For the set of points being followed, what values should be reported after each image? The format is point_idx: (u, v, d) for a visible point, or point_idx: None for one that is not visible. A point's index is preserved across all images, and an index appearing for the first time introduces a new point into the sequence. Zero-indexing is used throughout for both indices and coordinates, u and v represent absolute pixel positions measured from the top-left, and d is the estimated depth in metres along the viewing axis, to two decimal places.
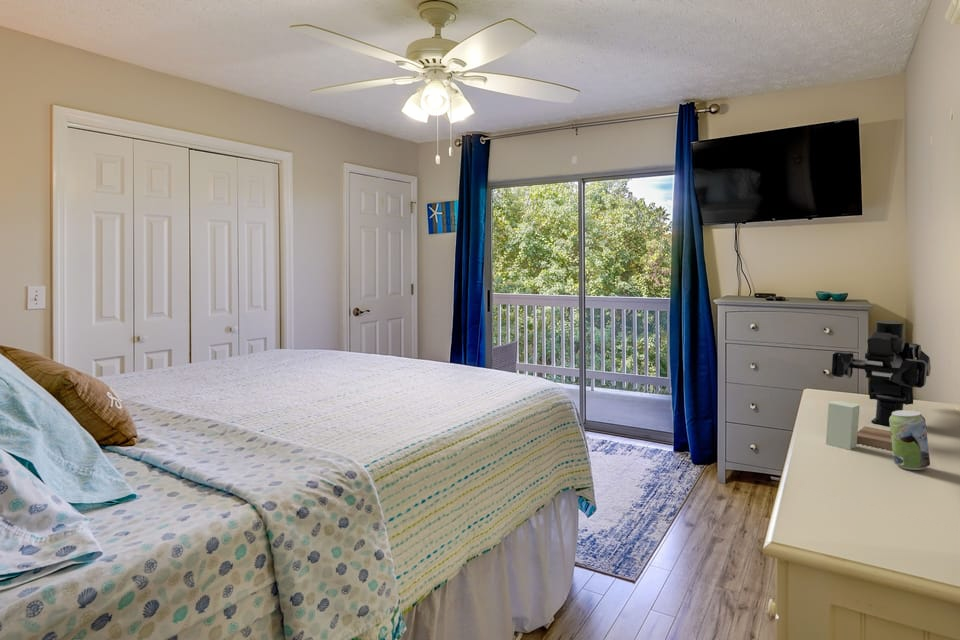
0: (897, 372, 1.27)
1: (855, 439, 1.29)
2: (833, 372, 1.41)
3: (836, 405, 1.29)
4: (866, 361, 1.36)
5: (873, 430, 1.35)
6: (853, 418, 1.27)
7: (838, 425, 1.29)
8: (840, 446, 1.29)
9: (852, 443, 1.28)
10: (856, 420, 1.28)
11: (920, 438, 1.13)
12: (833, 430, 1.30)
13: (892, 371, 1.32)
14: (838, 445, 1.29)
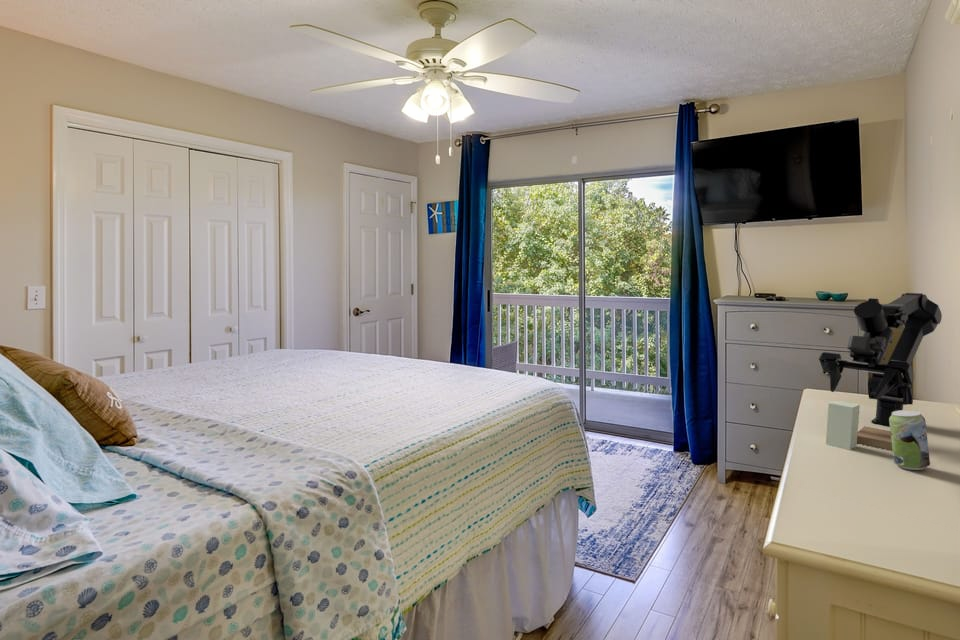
0: (880, 387, 1.28)
1: (855, 439, 1.29)
2: (824, 370, 1.43)
3: (836, 405, 1.29)
4: (852, 362, 1.36)
5: (873, 430, 1.35)
6: (853, 418, 1.27)
7: (838, 425, 1.29)
8: (840, 446, 1.29)
9: (852, 443, 1.28)
10: (856, 420, 1.28)
11: (920, 438, 1.13)
12: (833, 430, 1.30)
13: (879, 371, 1.32)
14: (838, 445, 1.29)
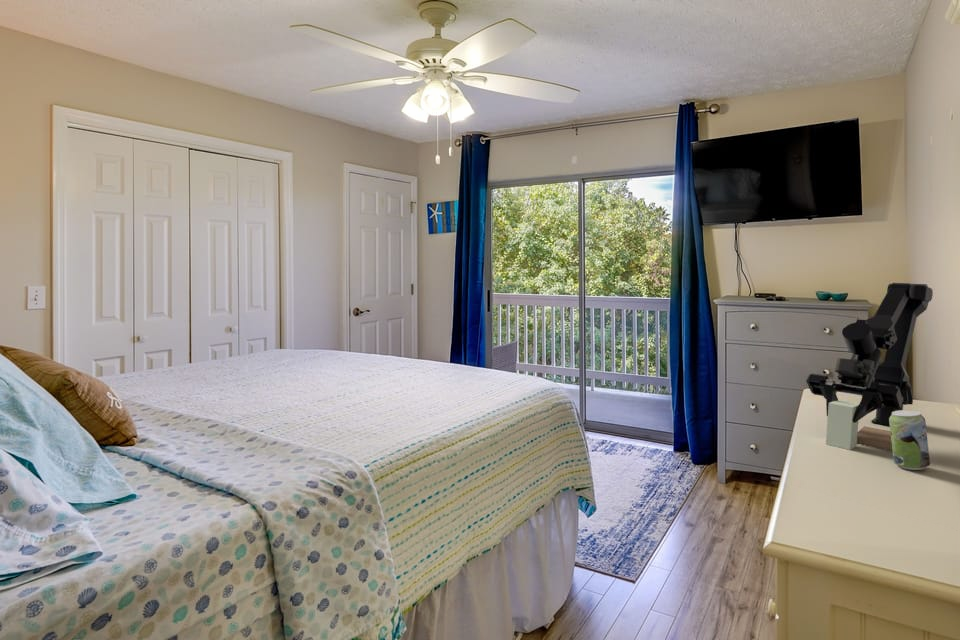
0: (858, 410, 1.27)
1: (855, 439, 1.29)
2: (812, 392, 1.39)
3: (836, 405, 1.29)
4: (840, 384, 1.33)
5: (873, 430, 1.35)
6: None
7: (838, 425, 1.29)
8: (840, 446, 1.29)
9: (852, 443, 1.28)
10: None
11: (920, 438, 1.13)
12: (833, 430, 1.30)
13: None
14: (838, 445, 1.29)
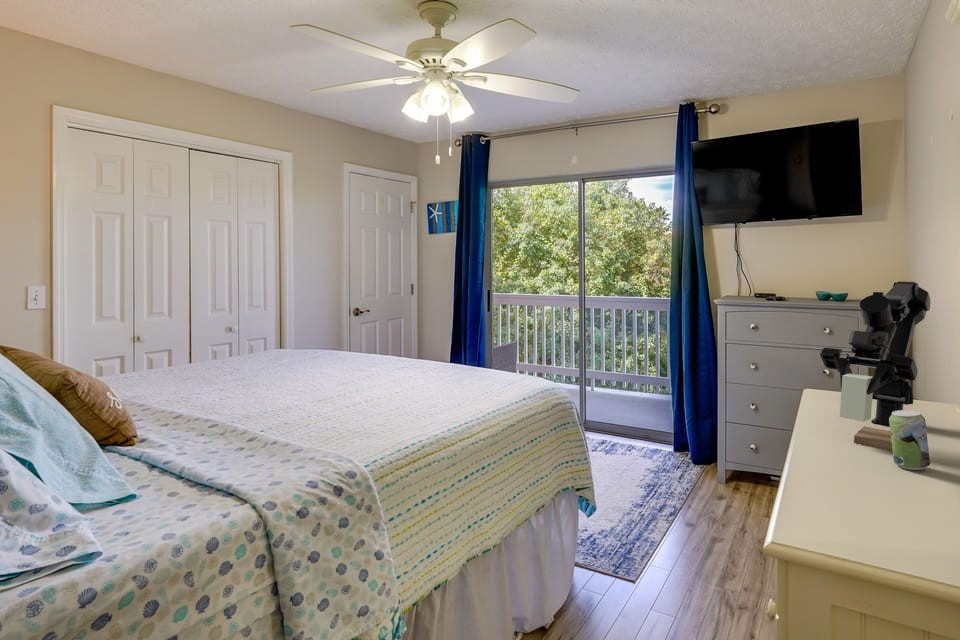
0: (873, 382, 1.26)
1: (869, 411, 1.29)
2: (826, 366, 1.39)
3: (850, 377, 1.29)
4: (854, 357, 1.33)
5: (873, 430, 1.35)
6: None
7: (852, 397, 1.29)
8: (854, 418, 1.29)
9: (866, 415, 1.28)
10: None
11: (920, 438, 1.13)
12: (847, 403, 1.30)
13: None
14: (852, 417, 1.29)
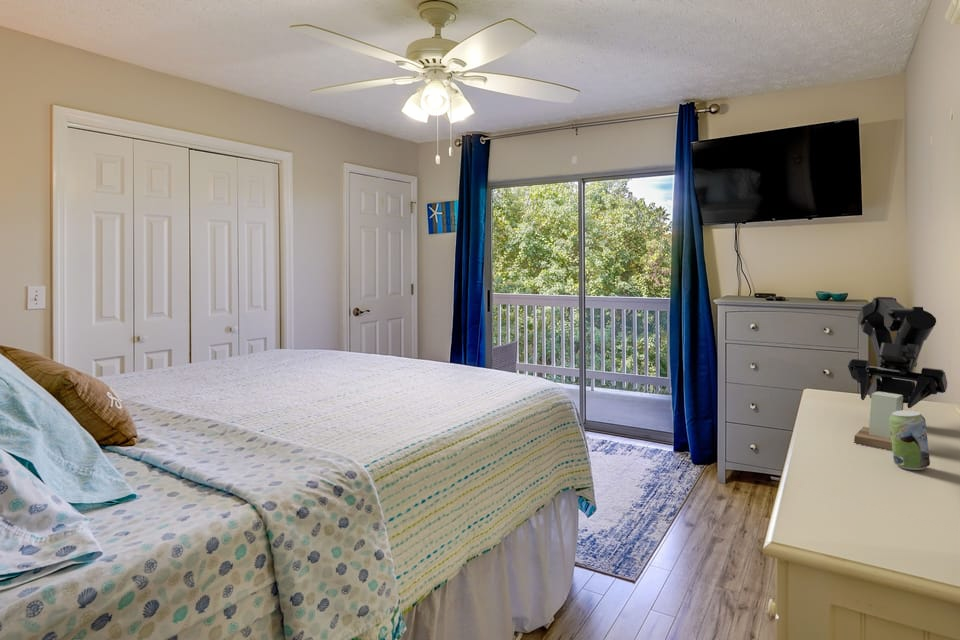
0: (913, 396, 1.26)
1: None
2: (853, 377, 1.40)
3: (879, 396, 1.30)
4: (883, 369, 1.34)
5: None
6: (897, 409, 1.28)
7: (881, 416, 1.30)
8: (884, 436, 1.30)
9: None
10: None
11: (920, 438, 1.13)
12: (876, 421, 1.31)
13: (911, 379, 1.30)
14: (882, 435, 1.30)
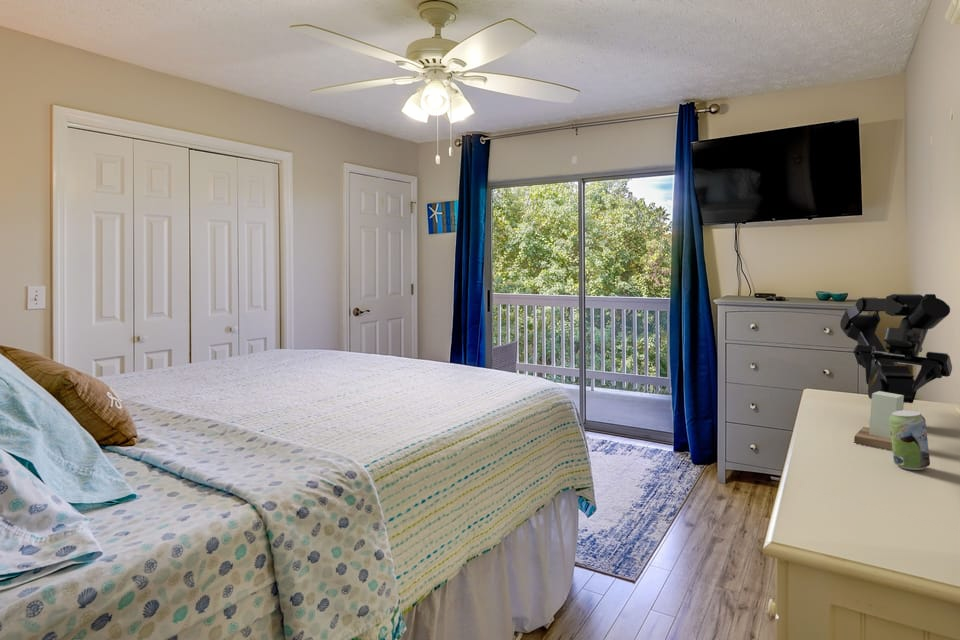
0: (918, 379, 1.28)
1: None
2: (859, 362, 1.42)
3: (880, 396, 1.30)
4: (888, 354, 1.35)
5: None
6: (897, 409, 1.28)
7: (881, 415, 1.30)
8: (884, 436, 1.30)
9: None
10: None
11: (920, 438, 1.13)
12: (876, 421, 1.31)
13: (916, 363, 1.32)
14: (881, 435, 1.30)
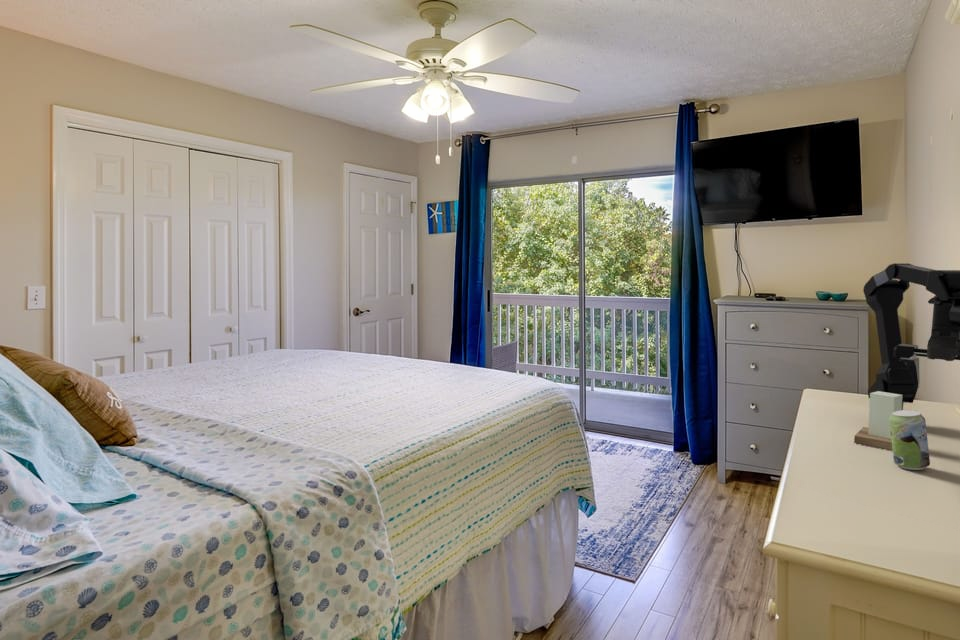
0: None
1: None
2: None
3: (877, 395, 1.30)
4: None
5: None
6: (895, 408, 1.28)
7: (880, 415, 1.30)
8: (882, 436, 1.30)
9: None
10: None
11: (920, 438, 1.13)
12: (875, 420, 1.31)
13: None
14: (880, 435, 1.30)
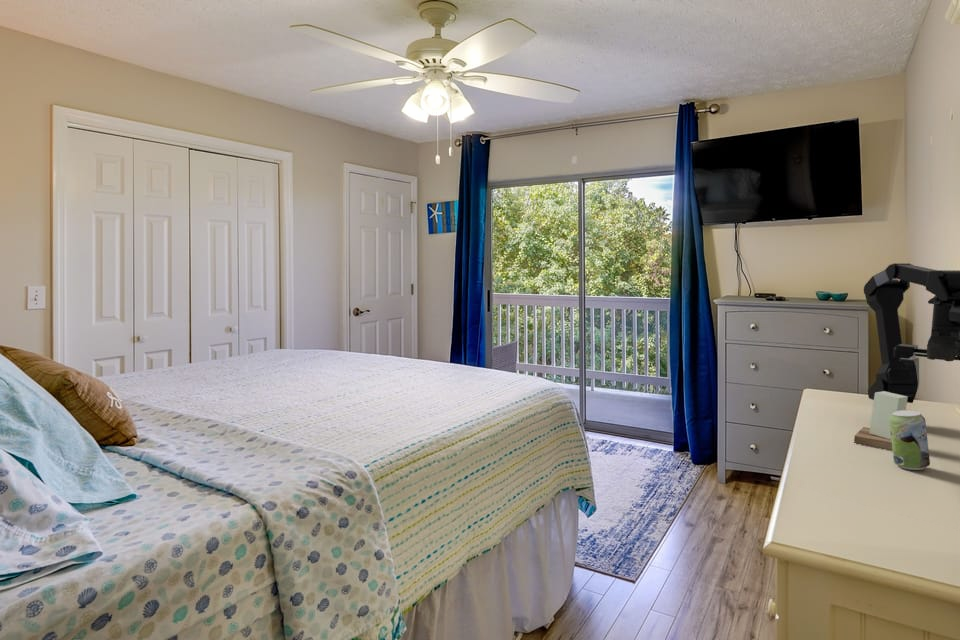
0: None
1: None
2: None
3: (882, 395, 1.29)
4: None
5: None
6: (898, 409, 1.27)
7: (882, 415, 1.30)
8: (883, 436, 1.30)
9: None
10: None
11: (920, 438, 1.13)
12: (877, 420, 1.31)
13: None
14: (881, 435, 1.30)
